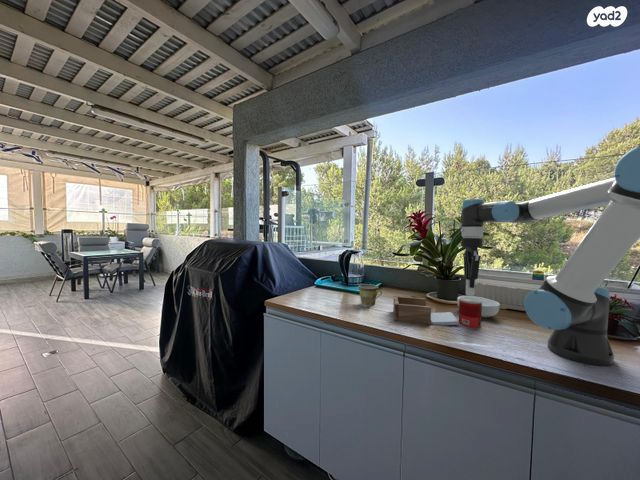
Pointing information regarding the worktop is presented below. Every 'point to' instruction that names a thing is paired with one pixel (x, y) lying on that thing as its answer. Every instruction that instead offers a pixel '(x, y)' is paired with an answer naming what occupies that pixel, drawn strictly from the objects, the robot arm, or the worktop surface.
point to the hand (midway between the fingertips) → (470, 294)
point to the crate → (411, 310)
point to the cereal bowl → (485, 306)
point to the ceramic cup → (368, 294)
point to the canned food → (470, 312)
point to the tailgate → (444, 319)
